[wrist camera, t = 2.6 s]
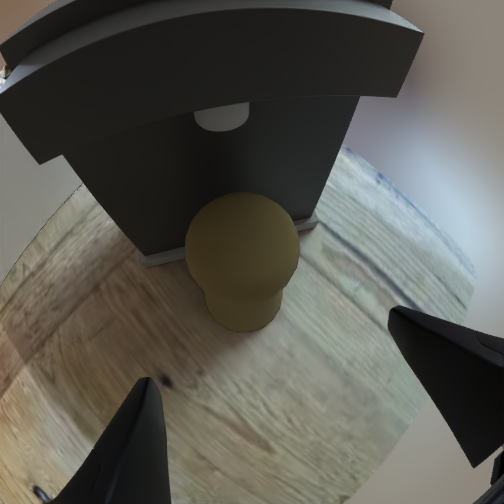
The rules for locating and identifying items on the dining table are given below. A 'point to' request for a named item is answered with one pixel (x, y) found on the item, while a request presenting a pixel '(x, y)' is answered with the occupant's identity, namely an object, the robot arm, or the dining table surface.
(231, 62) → the coffee maker
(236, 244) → the cork
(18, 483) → the dining table surface
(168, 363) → the dining table surface
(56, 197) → the white house shaped block
